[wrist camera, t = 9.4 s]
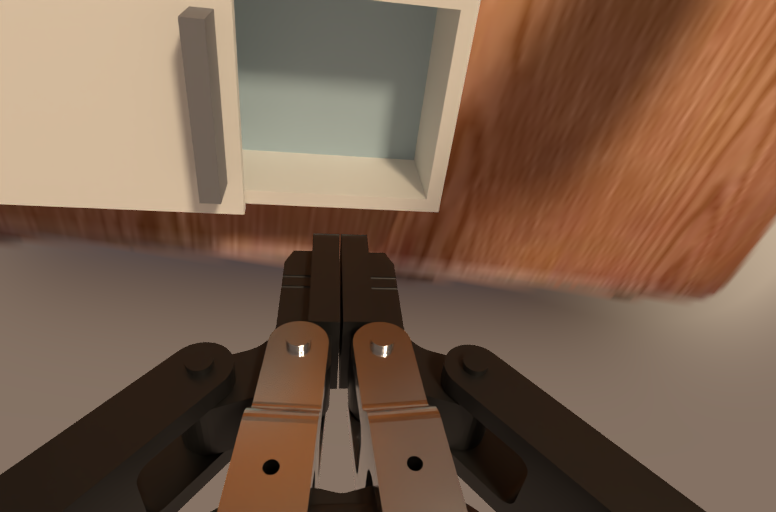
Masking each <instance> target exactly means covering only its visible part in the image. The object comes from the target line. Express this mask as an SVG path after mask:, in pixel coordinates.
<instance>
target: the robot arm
mask: <svg viewBox="0 0 776 512" xmlns="http://www.w3.org/2000/svg"><path fill="white" fill-rule="evenodd" d="M338 354H339V388H348V410H347V419H348V428H349V437H350V446H351V455H352V464H353V473H354V482H355V490H354V491H351V492H348V493H335V492H331V491H327V490H322V489H319V488H318V487H319V477H320V469H321V459H322V450H323V440H324V431H325V421H326V412H327V410H328V407H329V395H330V389H336V388H337V371H338ZM228 462H230V465H229V469H228V473H227V477H226V480H225V484H224V488H223V491H222V495H221V499H220V503H219V507H218V508H217V509H215V510H213V511H211V512H478V511H477V510H476V509H474V508H473V507H471V506H469V505H468V504H466V503H465V500H464V497H463V493H462V490H461V486H460V483H459V479H458V476H459V477H460V478H461V479H462V480H463V481H464V482H465V483H467V484H468V485H469V486H470V487H471V488H472V489H473V490H474V491H475V492H476V493H477V494H478V495H479V496H480V497H481V498H482V499H483V500H484V501H485V502H486V503H487V504H488V505H489V506H490V507H492V508H493V509H494V510H495V511H496V512H706V511H704V510H703V509H702V508H700V507H699V506H698V505H696V504H695V503H693V502H692V501H691V500H690V499H688V498H687V497H685V496H684V495H683V494H681V493H680V492H679V491H677V490H676V489H675V488H673V487H672V486H671V485H669V484H668V483H667V482H665V481H664V480H663V479H661V478H660V477H659V476H657V475H656V474H655V473H653V472H652V471H651V470H649V469H648V468H647V467H645V466H644V465H642V464H641V463H640V462H639V461H637V460H636V459H634V458H633V457H632V456H630V455H629V454H628V453H626V452H625V451H624V450H622V449H621V448H620V447H618V446H617V445H616V444H614V443H613V442H612V441H610V440H609V439H608V438H606V437H605V436H603V435H602V434H601V433H600V432H598V431H597V430H596V429H594V428H593V427H591V426H590V425H589V424H587V423H586V422H585V421H583V420H582V419H581V418H579V417H578V416H577V415H575V414H574V413H573V412H571V411H570V410H568V409H567V408H566V407H564V406H563V405H562V404H561V403H559V402H558V401H556V400H555V399H554V398H553V397H551V396H550V395H548V394H547V393H546V392H544V391H543V390H542V389H540V388H539V387H538V386H536V385H535V384H534V383H532V382H531V381H530V380H528V379H527V378H526V377H524V376H523V375H522V374H520V373H519V372H517V371H516V370H515V369H514V368H512V367H511V366H510V365H508V364H507V363H506V362H504V361H503V360H501V359H500V358H499V357H497V356H496V355H495V354H493V353H492V352H490V351H489V350H487V349H485V348H482V347H479V346H475V345H461V346H458V347H455V348H453V349H452V350H450V351H449V352H448V354H447V355H443V354H439V353H436V352H432V351H429V350H426V349H423V348H421V347H419V346H418V345H416V344H415V343H414V342H412V341H411V340H410V337H409V336H408V334H407V333H406V332H405V331H404V327H403V321H402V315H401V309H400V302H399V295H398V290H397V282H396V276H395V269H394V264H393V263H392V262H391V260H390V259H389V258H388V257H387V255H386V254H385V253H368V242H367V235H347V234H341V245H340V259H339V234H313V250H312V251H293V252H292V254H291V255H290V256H289V257H288V259H287V260H286V261H285V264H284V272H283V279H282V288H281V295H280V303H279V310H278V318H277V325H276V329H275V330H274V331H273V332H272V334H271V335H270V337H269V340H268V341H266V342H265V343H264V344H262V345H260V346H259V347H257V348H254V349H251V350H248V351H244V352H240V353H237V354H231V352H230V351H229V350H228V349H227V348H225V347H224V346H222V345H219V344H216V343H209V342H208V343H207V342H203V343H196V344H192V345H189V346H187V347H185V348H183V349H181V350H179V351H178V352H176V353H175V354H173V355H172V356H171V357H169V358H168V359H166V360H165V361H163V362H162V363H161V364H159V365H158V366H156V367H155V368H153V369H152V370H150V371H149V372H148V373H146V374H145V375H143V376H142V377H140V378H139V379H137V380H136V381H135V382H133V383H132V384H130V385H129V386H127V387H126V388H125V389H123V390H122V391H120V392H119V393H118V394H116V395H115V396H113V397H112V398H110V399H109V400H107V401H106V402H104V403H103V404H102V405H100V406H99V407H97V408H96V409H95V410H93V411H92V412H90V413H89V414H87V415H86V416H84V417H83V418H81V419H80V420H79V421H77V422H76V423H74V424H73V425H71V426H70V427H69V428H67V429H66V430H64V431H63V432H61V433H60V434H58V435H57V436H56V437H54V438H53V439H51V440H50V441H49V442H47V443H46V444H44V445H43V446H41V447H40V448H38V449H37V450H35V451H34V452H33V453H31V454H30V455H28V456H27V457H25V458H24V459H23V460H21V461H20V462H18V463H17V464H15V465H14V466H13V467H11V468H10V469H8V470H7V471H5V472H4V473H2V474H1V475H0V512H178V511H179V510H180V508H182V507H183V506H184V505H185V504H186V503H187V502H188V501H189V500H190V499H191V498H192V497H193V496H194V495H195V494H196V493H197V492H198V491H199V490H200V489H201V488H203V486H205V485H206V484H207V483H208V482H209V481H210V480H211V479H212V478H213V477H214V476H215V475H216V474H217V473H218V472H219V471H220V470H221V469H222V468H223V467H224V466H225V465H226V464H227V463H228ZM457 475H458V476H457Z"/></svg>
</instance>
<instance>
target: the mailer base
mask: <svg viewBox="0 0 776 512" xmlns="http://www.w3.org/2000/svg"><path fill="white" fill-rule="evenodd" d="M480 1H481V0H234V11H235V29H236V46H237V64H238V81H239V99H240V116H241V134H242V151H243V169H244V186H245V203H247V204H269V205H290V206H312V207H334V208H356V209H377V210H399V211H421V212H439V207H440V201H441V196H442V191H443V186H444V181H445V176H446V171H447V166H448V161H449V156H450V151H451V146H452V141H453V136H454V131H455V126H456V121H457V116H458V111H459V106H460V101H461V96H462V91H463V86H464V81H465V76H466V71H467V66H468V61H469V56H470V51H471V46H472V41H473V36H474V31H475V26H476V21H477V16H478V11H479V6H480Z"/></svg>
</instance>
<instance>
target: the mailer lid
mask: <svg viewBox="0 0 776 512" xmlns="http://www.w3.org/2000/svg"><path fill="white" fill-rule="evenodd" d="M0 204H7V205H30V206H53V207H77V208H100V209H123V210H147V211H170V212H194V213H217V214H240V215H244V214H245V209H246V204H245V186H244V169H243V151H242V134H241V116H240V99H239V81H238V64H237V46H236V29H235V11H234V0H0Z"/></svg>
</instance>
